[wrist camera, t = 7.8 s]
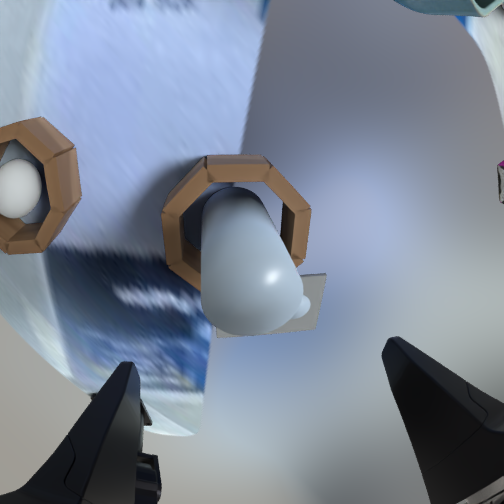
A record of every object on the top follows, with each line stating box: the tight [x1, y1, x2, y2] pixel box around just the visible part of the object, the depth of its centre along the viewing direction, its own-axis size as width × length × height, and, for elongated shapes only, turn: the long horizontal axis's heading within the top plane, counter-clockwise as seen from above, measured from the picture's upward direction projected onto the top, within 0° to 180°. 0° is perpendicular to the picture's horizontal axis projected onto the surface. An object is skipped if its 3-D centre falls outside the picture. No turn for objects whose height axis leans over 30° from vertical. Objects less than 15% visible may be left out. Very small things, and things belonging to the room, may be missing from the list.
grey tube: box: [201, 187, 303, 336], centre depth 16 cm, size 4×4×9 cm
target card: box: [216, 273, 326, 338], centre depth 24 cm, size 6×9×1 cm, turn 88°
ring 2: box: [161, 155, 311, 291], centre depth 19 cm, size 9×9×3 cm
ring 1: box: [0, 117, 82, 255], centre depth 15 cm, size 9×9×3 cm
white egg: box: [0, 159, 42, 218], centre depth 14 cm, size 4×4×4 cm
